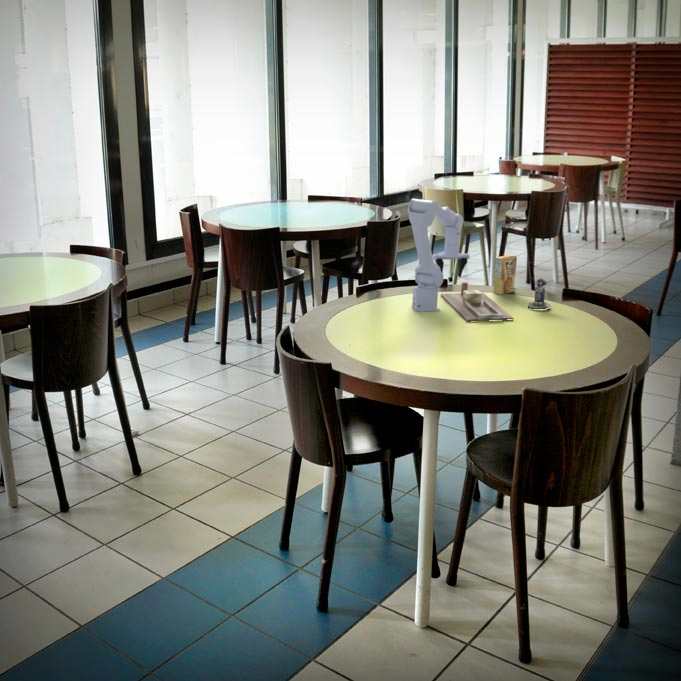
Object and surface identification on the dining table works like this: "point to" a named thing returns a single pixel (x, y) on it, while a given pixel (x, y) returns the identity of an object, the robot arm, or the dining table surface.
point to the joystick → (470, 294)
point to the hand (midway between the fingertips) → (450, 276)
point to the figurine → (539, 296)
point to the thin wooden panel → (476, 308)
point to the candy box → (504, 274)
